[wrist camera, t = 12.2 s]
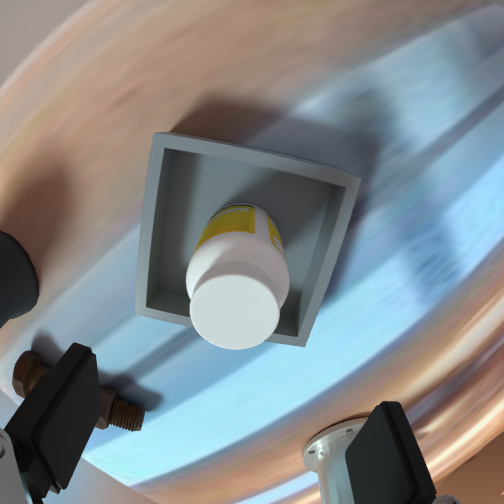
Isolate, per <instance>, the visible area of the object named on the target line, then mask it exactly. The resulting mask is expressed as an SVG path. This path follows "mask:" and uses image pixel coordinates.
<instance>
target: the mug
mask: <svg viewBox="0 0 504 504" xmlns="http://www.w3.org/2000/svg"><path fill="white" fill-rule="evenodd" d="M38 296H39V284H38V278H37V275H36V271H35V268H34V266H33V264H32V261H31V259H30V257H29V255H28V254H27V252H26V251H25V250H24V248H23V247H22V246H21V244H20V243H19V242H18V241H17V240H15V239H14V238H13V237H12V236H11V235H10V234H7V233H4V232H2V231H0V328H1V327H2V326H3V325H4V324H5V323H6V322H7V321H8V320H9V319H14V318H17V317H19V316H21V315H23V314H25V313H27V312H29V311H31V310H32V308H33V307H34V306H35V305H36V303H37V299H38Z"/></svg>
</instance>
